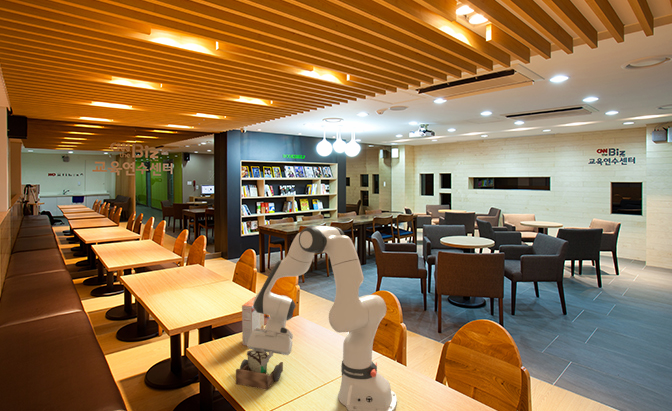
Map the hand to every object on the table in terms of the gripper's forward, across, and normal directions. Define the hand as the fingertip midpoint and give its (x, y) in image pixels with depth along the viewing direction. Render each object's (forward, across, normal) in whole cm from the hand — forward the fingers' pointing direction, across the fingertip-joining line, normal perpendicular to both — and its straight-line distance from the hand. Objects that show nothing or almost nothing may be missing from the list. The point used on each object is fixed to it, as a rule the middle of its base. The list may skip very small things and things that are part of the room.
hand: (264, 361), depth 155 cm
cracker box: (-15, -20, +23) cm, 34 cm away
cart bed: (+6, 0, +1) cm, 6 cm away
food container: (+6, 0, +2) cm, 6 cm away
